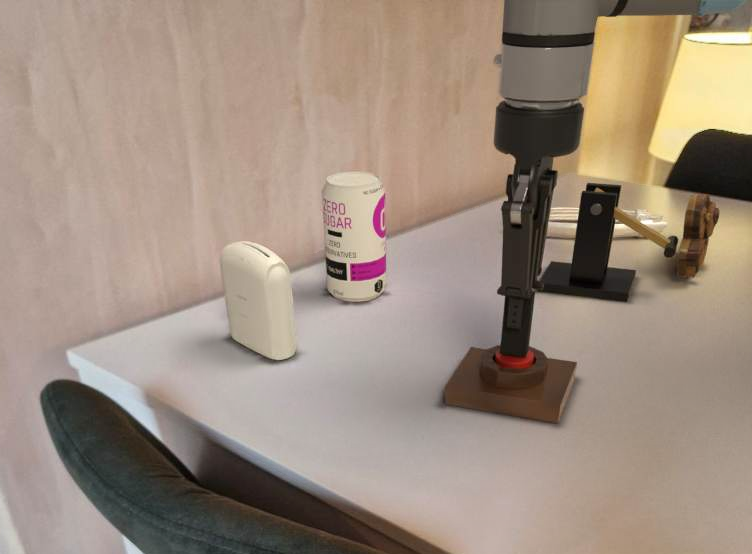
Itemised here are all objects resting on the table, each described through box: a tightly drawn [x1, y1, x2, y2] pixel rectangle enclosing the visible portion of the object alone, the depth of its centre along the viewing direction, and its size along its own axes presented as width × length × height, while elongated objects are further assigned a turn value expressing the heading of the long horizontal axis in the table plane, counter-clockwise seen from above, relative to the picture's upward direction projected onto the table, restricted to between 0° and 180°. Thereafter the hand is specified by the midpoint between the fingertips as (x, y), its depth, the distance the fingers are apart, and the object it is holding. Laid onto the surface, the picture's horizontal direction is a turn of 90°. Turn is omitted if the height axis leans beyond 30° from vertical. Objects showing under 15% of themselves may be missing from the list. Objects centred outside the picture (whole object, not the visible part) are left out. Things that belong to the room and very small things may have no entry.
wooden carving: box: [676, 193, 720, 278], centre depth 108 cm, size 16×5×10 cm, turn 160°
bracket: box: [537, 182, 637, 302], centre depth 103 cm, size 12×9×13 cm
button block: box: [444, 344, 578, 424], centre depth 82 cm, size 12×10×4 cm
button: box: [495, 349, 534, 369], centre depth 81 cm, size 4×4×2 cm
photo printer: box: [219, 240, 298, 361], centre depth 90 cm, size 10×4×12 cm, turn 41°
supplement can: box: [321, 171, 387, 303], centre depth 102 cm, size 8×8×15 cm
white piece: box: [547, 207, 668, 239], centre depth 125 cm, size 3×10×25 cm
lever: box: [594, 188, 679, 259], centre depth 100 cm, size 13×5×2 cm, turn 68°
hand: (514, 352), depth 80 cm, fingers closed
